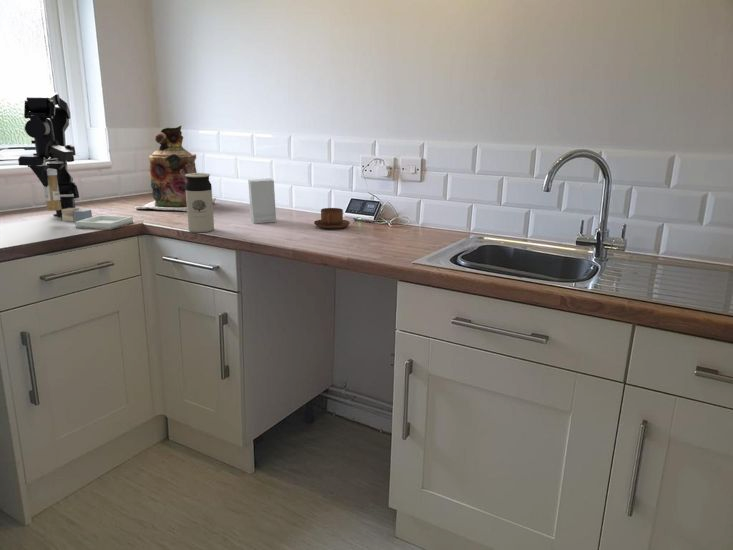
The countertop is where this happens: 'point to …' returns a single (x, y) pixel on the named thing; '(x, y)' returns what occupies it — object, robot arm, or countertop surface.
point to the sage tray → (104, 222)
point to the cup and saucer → (331, 219)
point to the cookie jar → (170, 171)
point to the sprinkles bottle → (52, 191)
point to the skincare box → (262, 200)
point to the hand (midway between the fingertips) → (50, 185)
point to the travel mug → (199, 202)
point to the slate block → (82, 214)
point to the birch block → (68, 214)
